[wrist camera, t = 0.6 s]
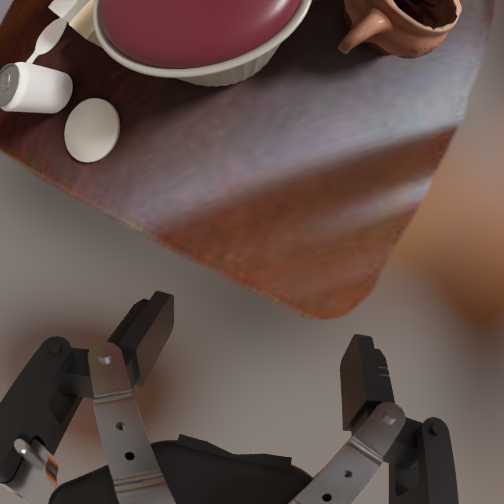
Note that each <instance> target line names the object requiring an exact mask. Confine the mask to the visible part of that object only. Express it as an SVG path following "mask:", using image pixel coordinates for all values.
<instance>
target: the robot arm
mask: <svg viewBox="0 0 504 504" xmlns="http://www.w3.org/2000/svg"><path fill="white" fill-rule="evenodd" d="M173 325H174V296H173V295H172V294H168V293H164V292H161V291H156V292H155V293H154V295H153V296H152V297H151V299H150V300H147V299H142V300H141V301H139V302H137V303H136V304H134V305H133V307H132V308H131V310H130V311H129V313H128V314H127V315H126V316H125V317H124V320H122V322H121V323H120V324H119V326H118V327H117V328H116V330H115V331H114V332H113V334H112V335H111V337H110V338H109V339H108V341H107V342H102V343H98V344H96V345H95V346H93V347H92V348H91V349H79V348H71V346H70V344H69V342H68V341H67V340H66V339H65V338H63V337H51V338H49V339H47V340H45V341H44V342H43V343H42V345H41V346H40V348H39V349H38V350H37V351H36V352H35V354H34V355H33V357H32V358H31V359H30V361H29V362H28V363H27V365H26V366H25V368H24V369H23V370H22V372H21V373H20V375H19V376H18V377H17V379H16V380H15V382H14V383H13V385H12V386H11V388H10V389H9V391H8V392H7V393H6V395H5V396H4V398H3V400H2V401H1V403H0V485H1V486H3V487H4V488H6V489H7V490H9V491H11V492H13V493H15V494H17V495H18V496H20V497H22V498H25V499H27V500H28V501H30V502H31V503H33V504H351V503H352V502H353V501H354V499H355V498H356V497H357V496H358V494H359V493H360V492H361V490H362V489H363V488H364V487H365V486H366V484H367V483H368V482H369V481H370V479H371V478H372V477H373V475H374V474H375V473H376V471H377V470H378V468H379V467H380V466H381V464H382V462H383V461H384V462H387V463H389V504H459V503H458V491H457V481H456V473H455V466H454V458H453V452H452V446H451V440H450V435H449V430H448V427H447V425H446V424H445V423H444V422H443V421H442V420H441V419H439V418H435V417H431V418H428V419H426V420H425V421H424V422H423V423H421V422H418V421H415V420H412V419H409V418H407V417H406V416H405V413H404V411H403V410H402V408H401V407H399V406H398V405H397V404H395V401H394V396H393V391H392V386H391V381H390V377H389V371H388V369H387V368H388V367H387V362H386V358H385V356H384V355H383V354H382V352H381V351H380V350H379V349H374V344H373V340H372V337H370V336H365V335H359V334H355V335H354V336H353V338H352V340H351V342H350V344H349V346H348V348H347V350H346V352H345V354H344V356H343V358H342V361H341V365H340V378H341V395H342V417H343V430H345V431H351V432H352V437H351V438H350V439H349V440H348V441H347V442H346V444H345V445H344V446H343V447H342V448H341V449H340V450H339V451H338V453H337V454H336V455H335V456H334V457H333V458H332V459H331V460H330V461H329V462H328V463H327V464H326V465H325V467H323V468H322V469H321V470H320V471H319V472H318V473H317V474H316V476H314V477H313V478H312V477H311V476H310V475H309V474H308V473H306V472H305V471H303V470H302V469H300V468H298V467H296V466H294V465H291V460H292V458H290V457H283V456H276V455H269V454H246V455H245V454H242V455H241V454H240V455H237V454H232V453H229V452H227V451H225V450H223V449H221V448H219V447H217V446H215V445H213V444H211V443H208V442H207V441H203V440H199V439H195V438H192V437H188V436H185V435H181V434H180V435H179V438H178V440H164V441H158V442H154V443H151V444H150V442H149V439H148V437H147V434H146V431H145V428H144V425H143V423H142V419H141V417H140V413H139V410H138V407H137V404H136V401H135V398H134V394H133V392H132V389H133V387H134V385H135V384H136V385H138V386H141V387H143V386H144V383H145V382H146V380H147V377H148V376H149V374H150V372H151V370H152V368H153V366H154V364H155V363H156V360H157V359H158V357H159V355H160V353H161V351H162V349H163V347H164V345H165V344H166V342H167V340H168V338H169V336H170V334H171V332H172V329H173ZM83 397H86V398H93V405H94V410H95V415H96V420H97V424H98V428H99V433H100V436H101V441H102V445H103V448H104V452H105V456H106V459H107V463H108V465H106V466H104V467H101V468H99V469H97V470H94V471H92V472H90V473H87V474H85V475H83V476H81V477H78V478H76V479H73V480H71V481H68V482H66V483H63V484H62V485H60V486H58V484H57V474H58V463H57V461H56V459H55V458H54V454H55V452H56V449H57V447H58V445H59V443H60V441H61V439H62V437H63V435H64V433H65V431H66V429H67V427H68V425H69V423H70V421H71V420H72V417H73V416H74V414H75V412H76V410H77V408H78V406H79V404H80V402H81V401H82V399H83Z"/></svg>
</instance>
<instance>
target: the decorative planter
mask: <svg viewBox="0 0 504 504" xmlns="http://www.w3.org/2000/svg"><path fill="white" fill-rule="evenodd" d="M344 3H345V8H344V18H345V21H346V23H347V25H348V27H349V28H350V31H349V33H348V34H347V35H346V36H345V37H344V39H343V40H342V41H341V42H340V44H339V46H338V49H339V50H340V51H341V52H342V53H345V54H348V52H349V50H351V49H352V48H353V47H355V46H356V45H358V44H360V43H363V44H365V45H366V46H367V47H369V48H370V49H372V50H374V51H376V52H378V53H380V54H383V55H396V56H398V57H401V58H417V57H420V56H423V55H426V54H428V53H430V52H432V51H433V50H434V49H436V48H437V47H438V46H439V45H440V44H441V43H442V42H443V40H444V39H445V37H446V35H447V32H449V31H450V30H451V29H452V28H453V27H454V26H455V24H456V22H457V20H458V17H459V15H460V13H461V10H462V8H461V5H460V2H459V0H344Z"/></svg>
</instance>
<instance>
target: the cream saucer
mask: <svg viewBox="0 0 504 504" xmlns="http://www.w3.org/2000/svg"><path fill="white" fill-rule="evenodd" d="M119 133H120V118H119V115H118V112H117V110H116V109H115V107H114V106H113V105H112V104H111V103H109V102H108V101H106V100H102V99H98V98H91V99H87V100H85V101H83V102H81V103H80V104H78V105H77V106H76V107H75V108H74V109H73V111H72V112H71V114H70V115H69V117H68V120H67V122H66V126H65V133H64V137H65V143H66V147H67V149H68V151H69V152H70V154H71V155H72V156H73V157H74V158H75V159H77V160H79V161H81V162H94V161H98V160H100V159H102V158H104V157H106V156H107V155H108V154H109V153H110V152H111V151H112V149H113V148H114V146H115V145H116V143H117V140H118V137H119Z"/></svg>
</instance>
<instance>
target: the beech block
mask: <svg viewBox="0 0 504 504" xmlns="http://www.w3.org/2000/svg"><path fill="white" fill-rule="evenodd" d="M94 1H95V0H90V1H89V2H88V3H87V4H86V5H85V6H84V7H83V8H82V9H81V11H80V12H79V13H78V14H77V15H76V16H75V17H74V18H73V19H72V21H71V22H70V23H69V25H70V26H71V27H72V28H73V29H75V30H76V31H77V32H78V33H79V34H81V35H82V36H83V37H84V38H85V39H86V40H88V41H90V42H92V43H94V44H96V45H98V46H100V47H102V46H101V44H100V42H99V41H98V39H97V36H96V33H95V30H94V25H93V6H94ZM102 48H103V47H102Z"/></svg>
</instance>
